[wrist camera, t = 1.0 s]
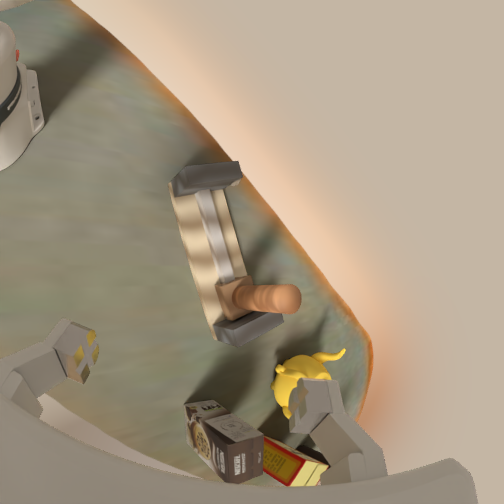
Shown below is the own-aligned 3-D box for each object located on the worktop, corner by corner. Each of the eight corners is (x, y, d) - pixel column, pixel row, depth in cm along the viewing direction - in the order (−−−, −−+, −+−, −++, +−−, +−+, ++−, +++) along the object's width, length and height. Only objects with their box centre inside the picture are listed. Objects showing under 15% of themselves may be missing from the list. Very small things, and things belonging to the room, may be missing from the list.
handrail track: (167, 181, 46) (184, 163, 39) (216, 174, 52) (240, 158, 45) (214, 341, 48) (239, 350, 41) (258, 319, 54) (287, 323, 47)
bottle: (310, 443, 59) (370, 467, 43) (304, 462, 57) (361, 488, 41) (292, 447, 56) (354, 475, 39) (286, 467, 54) (345, 497, 37)
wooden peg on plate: (211, 286, 47) (268, 285, 34) (239, 276, 51) (300, 271, 38) (221, 318, 47) (280, 328, 35) (248, 306, 51) (310, 310, 38)
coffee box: (182, 403, 42) (227, 444, 29) (213, 398, 46) (265, 432, 33) (185, 443, 41) (229, 488, 28) (215, 436, 45) (264, 475, 32)
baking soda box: (240, 454, 47) (289, 487, 34) (255, 431, 50) (307, 460, 37) (266, 462, 51) (314, 490, 38) (280, 441, 54) (330, 466, 41)
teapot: (287, 324, 58) (328, 329, 49) (321, 355, 64) (358, 362, 55) (240, 403, 49) (277, 422, 40) (282, 424, 55) (318, 440, 45)
